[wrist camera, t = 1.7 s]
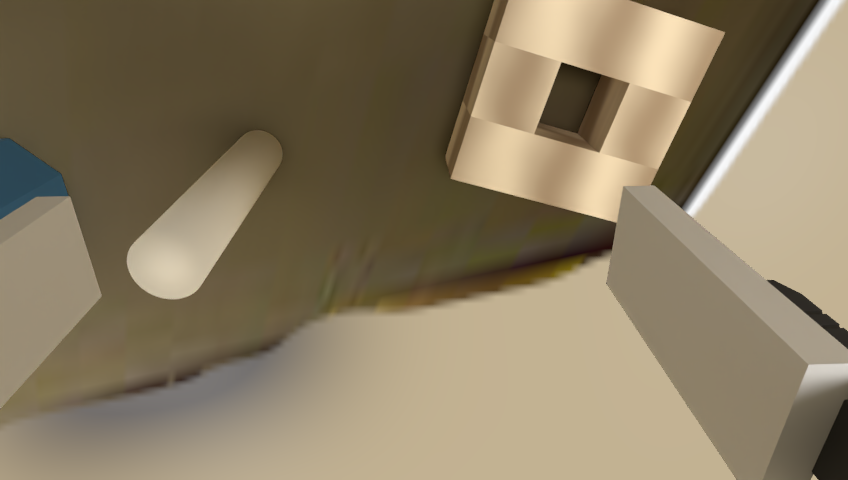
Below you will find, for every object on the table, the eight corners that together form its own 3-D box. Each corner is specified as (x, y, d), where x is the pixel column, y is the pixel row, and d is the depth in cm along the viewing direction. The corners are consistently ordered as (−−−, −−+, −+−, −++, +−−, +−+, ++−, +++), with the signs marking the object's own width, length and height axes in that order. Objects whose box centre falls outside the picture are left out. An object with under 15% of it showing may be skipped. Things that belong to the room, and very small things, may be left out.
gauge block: (445, 156, 37) (450, 178, 33) (504, -35, 32) (520, -37, 28) (606, 200, 38) (630, 226, 34) (685, 26, 34) (725, 32, 30)
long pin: (233, 167, 36) (124, 290, 22) (240, 124, 35) (129, 225, 21) (278, 178, 37) (200, 306, 22) (286, 136, 36) (208, 243, 21)
